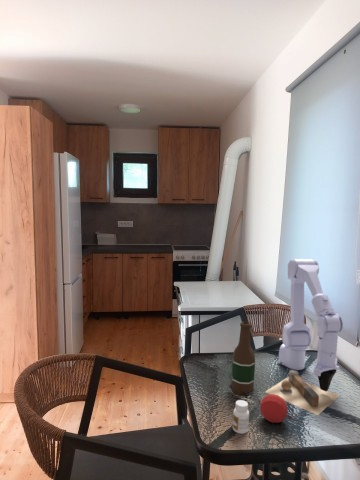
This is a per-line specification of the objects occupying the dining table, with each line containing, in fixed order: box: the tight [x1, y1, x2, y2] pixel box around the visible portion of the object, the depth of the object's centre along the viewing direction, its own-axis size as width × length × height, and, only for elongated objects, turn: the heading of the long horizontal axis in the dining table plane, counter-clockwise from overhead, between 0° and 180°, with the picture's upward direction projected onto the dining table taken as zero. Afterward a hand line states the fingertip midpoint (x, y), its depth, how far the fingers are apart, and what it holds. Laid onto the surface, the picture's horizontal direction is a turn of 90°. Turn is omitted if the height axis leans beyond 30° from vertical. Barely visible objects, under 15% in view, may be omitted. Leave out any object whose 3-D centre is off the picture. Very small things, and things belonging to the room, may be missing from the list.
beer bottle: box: [230, 321, 256, 397], centre depth 120 cm, size 8×8×24 cm
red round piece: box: [259, 394, 289, 424], centre depth 105 cm, size 8×8×8 cm
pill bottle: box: [232, 399, 250, 435], centre depth 100 cm, size 4×4×8 cm
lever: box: [288, 369, 319, 406], centre depth 119 cm, size 18×3×3 cm, turn 6°
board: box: [264, 376, 340, 416], centre depth 118 cm, size 18×17×5 cm
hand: (324, 389), depth 118 cm, fingers closed
